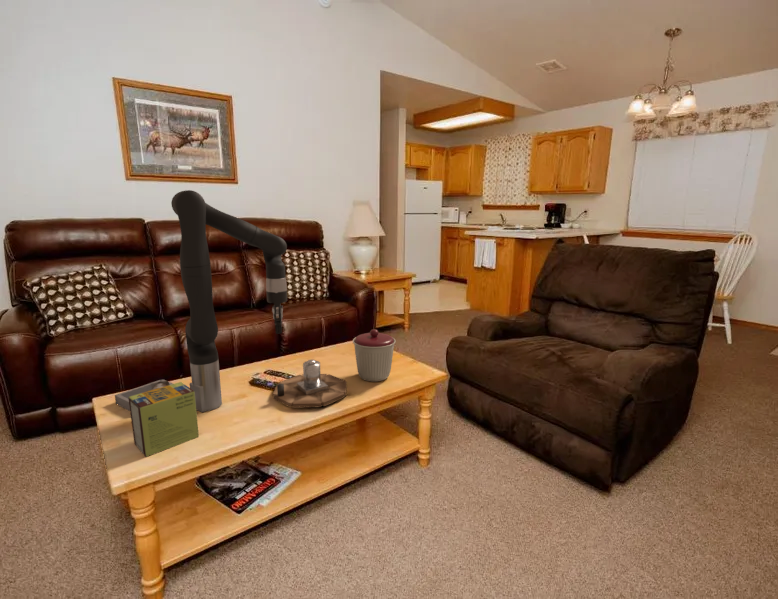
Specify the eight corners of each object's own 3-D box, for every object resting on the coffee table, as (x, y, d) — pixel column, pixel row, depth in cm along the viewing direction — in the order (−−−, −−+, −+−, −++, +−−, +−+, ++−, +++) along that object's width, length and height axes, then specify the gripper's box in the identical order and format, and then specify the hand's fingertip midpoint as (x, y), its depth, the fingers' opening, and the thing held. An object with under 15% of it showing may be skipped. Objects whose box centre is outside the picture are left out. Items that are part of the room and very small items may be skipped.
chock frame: (138, 415, 142) (137, 406, 142) (116, 404, 150) (114, 395, 150) (186, 396, 157) (185, 388, 156) (163, 387, 165) (162, 379, 164)
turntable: (345, 406, 148) (345, 392, 147) (268, 408, 146) (267, 393, 145) (347, 376, 174) (346, 364, 173) (281, 377, 172) (281, 365, 171)
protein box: (199, 436, 130) (195, 390, 126) (145, 457, 118) (139, 407, 115) (185, 425, 136) (181, 381, 133) (133, 444, 125) (127, 396, 122)
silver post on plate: (328, 389, 159) (327, 362, 156) (306, 394, 154) (305, 367, 151) (318, 381, 166) (317, 355, 164) (296, 386, 161) (295, 359, 159)
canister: (366, 389, 165) (366, 338, 160) (345, 374, 180) (344, 327, 175) (403, 379, 174) (404, 331, 170) (381, 366, 189) (381, 321, 185)
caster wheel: (132, 416, 147) (146, 400, 156) (162, 410, 146) (175, 394, 156) (124, 401, 144) (139, 385, 154) (155, 395, 144) (168, 379, 153)
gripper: (267, 286, 162) (269, 329, 166) (265, 293, 150) (268, 339, 154) (286, 286, 164) (288, 328, 168) (286, 292, 152) (288, 337, 155)
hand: (278, 333), depth 161 cm, fingers closed
